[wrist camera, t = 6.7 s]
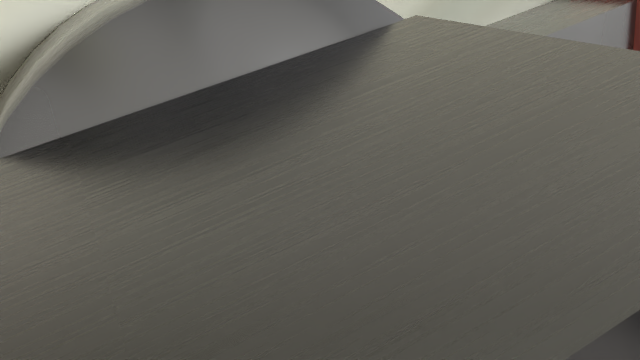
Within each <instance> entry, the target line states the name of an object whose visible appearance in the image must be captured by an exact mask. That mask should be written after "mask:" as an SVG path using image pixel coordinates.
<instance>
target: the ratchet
mask: <svg viewBox="0 0 640 360" xmlns="http://www.w3.org/2000/svg"><path fill="white" fill-rule="evenodd" d="M401 20H404V19H403V18H402V17H401V16H399V15H398V14H396V13H395V12H393V11H391V10H390V9H388V8H387V7H385V6H384V5H382V4H381V3H379V2H377V1H376V0H97V1H95V2H93V3H91V4H89V5H88V6H86V7H85V8H83V9H82V10H81V11H79V12H78V13H76V14H75V15H73V16H72V17H71V18H69V19H68V20H66V21H65V22H64V23H62V24H61V25H59V26H58V27H57V28H56V29H55V30H54V31H53V32H52V33H51V34H50V35H49V36H48V37H47V38H46V39H45V40H43V41H42V42H41V43H40V44H39V45H38V46H37V47H36V48H35V49H34V50H33V51H32V52H31V53H30V55H29V56H28V57H27V59H26V60H25V61H24V62H23V64H22V65H21V66H20V68H19V69H18V70H17V71H16V73H15V74H14V75H13V77H12V78H11V79H10V81H9V82H8V84H7V86H6V88H5V90H4V91H3V93H2V95H1V97H0V158H2V157H5V156H8V155H11V154H14V153H17V152H20V151H23V150H26V149H29V148H32V147H34V146H37V145H40V144H43V143H46V142H49V141H52V140H55V139H58V138H61V137H64V136H66V135H69V134H72V133H75V132H78V131H81V130H84V129H87V128H90V127H93V126H96V125H99V124H101V123H104V122H107V121H110V120H113V119H116V118H119V117H122V116H125V115H128V114H131V113H133V112H136V111H139V110H142V109H145V108H148V107H151V106H154V105H157V104H160V103H163V102H166V101H168V100H171V99H174V98H177V97H180V96H183V95H186V94H189V93H192V92H195V91H198V90H200V89H203V88H206V87H209V86H212V85H215V84H218V83H221V82H224V81H227V80H230V79H232V78H235V77H238V76H241V75H244V74H247V73H250V72H253V71H256V70H259V69H262V68H265V67H267V66H270V65H273V64H276V63H279V62H282V61H285V60H288V59H291V58H294V57H297V56H299V55H302V54H305V53H308V52H311V51H314V50H317V49H320V48H323V47H326V46H329V45H331V44H334V43H337V42H340V41H343V40H346V39H349V38H352V37H355V36H358V35H361V34H364V33H366V32H369V31H372V30H375V29H378V28H381V27H384V26H387V25H390V24H393V23H396V22H398V21H401ZM485 27H492V28H498V29H504V30H510V31H517V32H523V33H529V34H535V35H542V36H548V37H554V38H561V39H567V40H573V41H579V42H586V43H592V44H598V45H604V46H611V47H617V48H623V49H629V50H636V51H640V0H555V1H552V2H549V3H546V4H544V5H541V6H538V7H536V8H533V9H530V10H528V11H525V12H522V13H520V14H517V15H514V16H511V17H509V18H506V19H503V20H501V21H498V22H495V23H493V24H490V25H487V26H485Z"/></svg>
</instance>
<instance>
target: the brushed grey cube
mask: <svg viewBox="0 0 640 360" xmlns="http://www.w3.org/2000/svg"><path fill="white" fill-rule="evenodd" d="M0 360H640V51H636V50H629V49H623V48H617V47H611V46H604V45H598V44H592V43H586V42H579V41H573V40H567V39H561V38H554V37H548V36H542V35H535V34H529V33H523V32H517V31H510V30H504V29H498V28H492V27H485V26H479V25H473V24H467V23H460V22H454V21H448V20H442V19H435V18H429V17H423V16H417V15H416V16H413V17H410V18H407V19H404V20H401V21H398V22H396V23H393V24H390V25H387V26H384V27H381V28H378V29H375V30H372V31H369V32H366V33H364V34H361V35H358V36H355V37H352V38H349V39H346V40H343V41H340V42H337V43H334V44H331V45H329V46H326V47H323V48H320V49H317V50H314V51H311V52H308V53H305V54H302V55H299V56H297V57H294V58H291V59H288V60H285V61H282V62H279V63H276V64H273V65H270V66H267V67H265V68H262V69H259V70H256V71H253V72H250V73H247V74H244V75H241V76H238V77H235V78H232V79H230V80H227V81H224V82H221V83H218V84H215V85H212V86H209V87H206V88H203V89H200V90H198V91H195V92H192V93H189V94H186V95H183V96H180V97H177V98H174V99H171V100H168V101H166V102H163V103H160V104H157V105H154V106H151V107H148V108H145V109H142V110H139V111H136V112H133V113H131V114H128V115H125V116H122V117H119V118H116V119H113V120H110V121H107V122H104V123H101V124H99V125H96V126H93V127H90V128H87V129H84V130H81V131H78V132H75V133H72V134H69V135H66V136H64V137H61V138H58V139H55V140H52V141H49V142H46V143H43V144H40V145H37V146H34V147H32V148H29V149H26V150H23V151H20V152H17V153H14V154H11V155H8V156H5V157H2V158H0Z"/></svg>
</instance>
